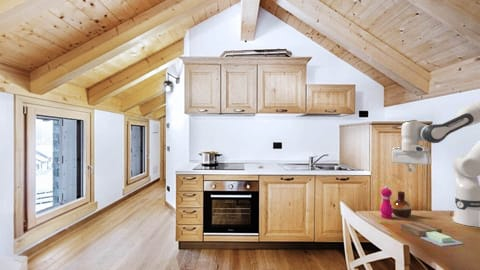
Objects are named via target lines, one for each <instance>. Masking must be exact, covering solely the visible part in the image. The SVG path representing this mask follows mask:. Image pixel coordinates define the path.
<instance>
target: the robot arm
mask: <svg viewBox="0 0 480 270" xmlns="http://www.w3.org/2000/svg"><path fill="white" fill-rule="evenodd" d="M479 123H480V100H478V101H475V102H472V103H470V104H467V105H466V106H463V107H461V108H460V109H459V110H457V111H456V112H455V116H454V118H452V119H449V120H448V121H445V122H443V123H440V124H429V125H428V124H425V123H422V122H420V121H419V120H417V119H412V120H405V121H403V123H402V124H401V131H400V133H401V134H400V135H401V147H393V148H392V149H391V162H392V163H397V164H404V165H405V167H406V169H407V170H406V171H407V172H412V173H413V172H415V168H416V167H417V165H425V166H428V165H430V164H431V163H432V156H431V153H430V151H429V150H430V147H428V146H425V145H422V144H420V142H423V143H431V144H438V143H441V142H442V141H444V140H445V139H446V138H447V137H448V136H449V135H450V134H452V133H454V132H457V131H458V130H461V129H463V128H464V127H465V128H466V127H470V126H473V125H477V124H479ZM410 164H411V166H412V167H410V166H409V165H410ZM452 167H453V175H454V180H455V181H454V182H455V199H454V204H455V205H454V208H453V209H454V210H453V216H451V218H452V221H453V222H454V223H456V224H459V225H463V226H469V227H477V228H480V182H479V176H480V139H479V140H477V142H476V143H475V144H474V145H473V146H472V148H471V149H470V150H469V152H468V153H467V154H466V155H465V156H464V155H463V156H459V157H457V158H455V159H454V160H453V161H452Z"/></svg>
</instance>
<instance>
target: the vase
mask: <svg viewBox="0 0 480 270" xmlns="http://www.w3.org/2000/svg"><path fill="white" fill-rule="evenodd" d="M405 198H406V192H405V191H400V190H399V191H397V199H396V200H395V201H393V202H392V204H391V206H392V208H393V213H392V215H394V216H396V217H398V218H409V217H410V216H411V214H412V206H411V204H410V203H409V202H408V201H407V200H406V199H405Z"/></svg>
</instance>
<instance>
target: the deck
mask: <svg viewBox="0 0 480 270" xmlns="http://www.w3.org/2000/svg"><path fill="white" fill-rule="evenodd" d="M400 231H403V232H404V233H405V232H406V233H407V234H410V235H413V236H415V237H417V238H420V237H425V232H432V231H436V232H439V233H441V234H443V231H442V228H439V227H436V226H433V225H431V224H428V223H425V222H422V221H419V222H412V223H411V222H410V223H402V224H400Z"/></svg>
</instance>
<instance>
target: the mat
mask: <svg viewBox="0 0 480 270" xmlns="http://www.w3.org/2000/svg"><path fill="white" fill-rule="evenodd" d="M419 238H420V239H422V240H425V241H427V242H429V243H431V242H432V244H434V245H436V246H438V247H450V246H458V245H464V244H465V243H464V242H462V241H459V240H456V239H454V238H452V242H444V243H441V242H439V241H436V240H434V239H431V238H429V237H426V236H425V237H419Z"/></svg>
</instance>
